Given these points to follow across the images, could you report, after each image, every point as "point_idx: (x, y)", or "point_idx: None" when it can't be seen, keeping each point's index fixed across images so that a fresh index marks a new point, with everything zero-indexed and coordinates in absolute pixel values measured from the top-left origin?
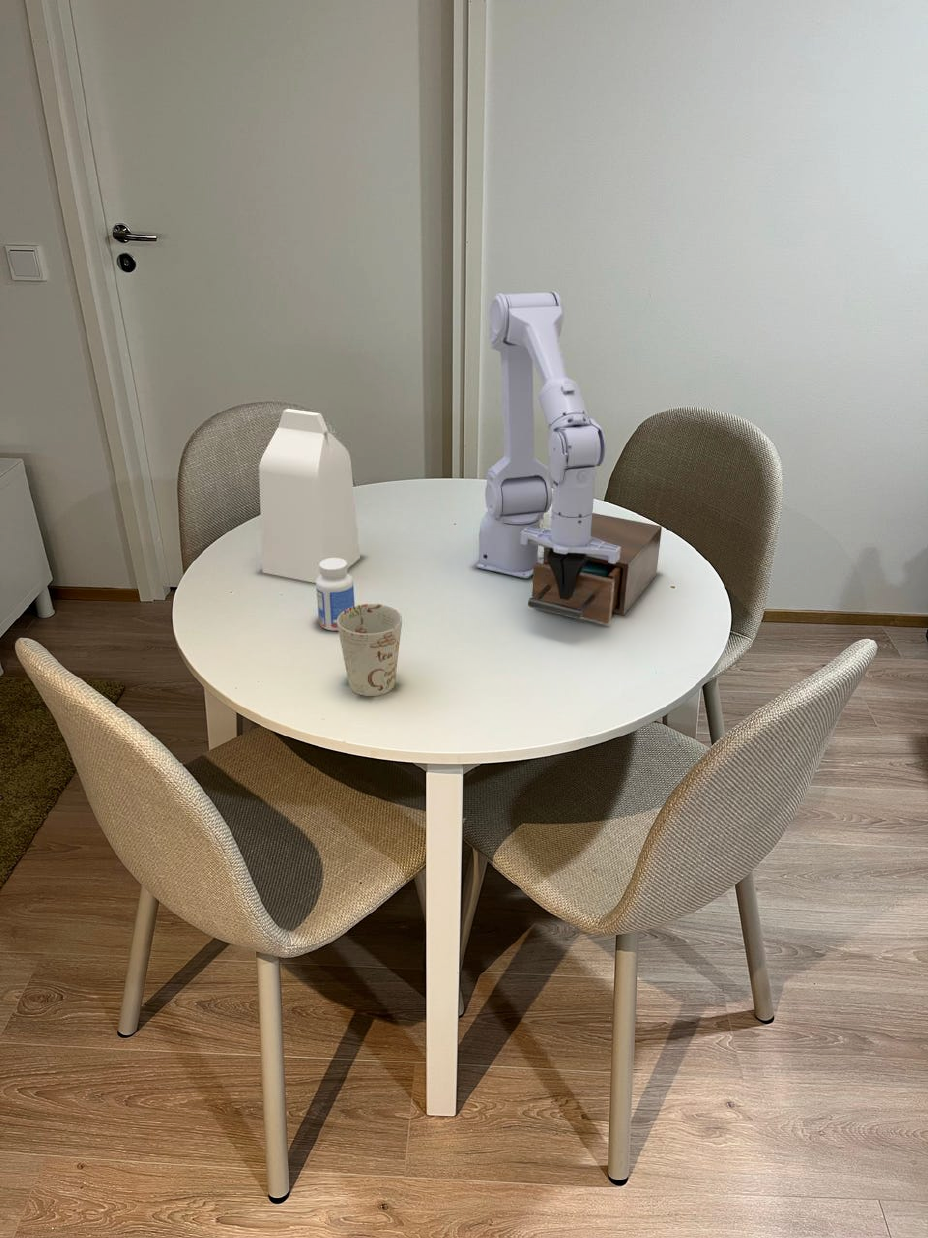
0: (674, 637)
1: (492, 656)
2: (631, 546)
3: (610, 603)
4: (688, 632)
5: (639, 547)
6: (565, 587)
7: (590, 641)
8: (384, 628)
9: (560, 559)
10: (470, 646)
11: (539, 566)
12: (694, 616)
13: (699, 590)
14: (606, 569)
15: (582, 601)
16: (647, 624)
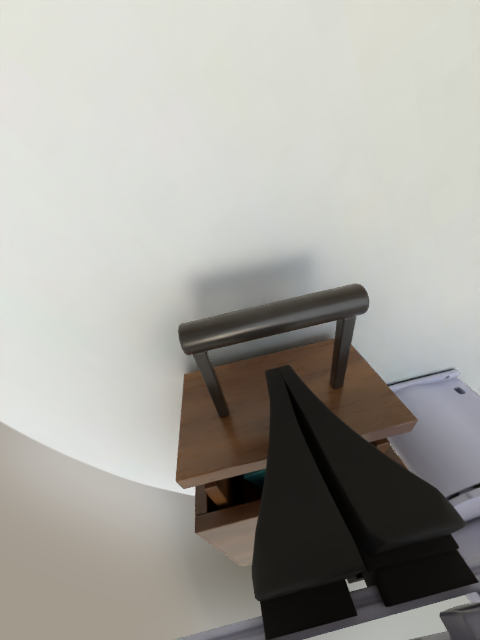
0: (83, 409)
1: (356, 20)
2: (241, 545)
3: (181, 416)
4: (84, 428)
5: (226, 549)
6: (284, 400)
7: (177, 313)
8: None
9: (377, 544)
10: (445, 43)
11: (399, 424)
12: (120, 452)
13: (168, 480)
14: (250, 481)
15: (246, 390)
16: (149, 409)
